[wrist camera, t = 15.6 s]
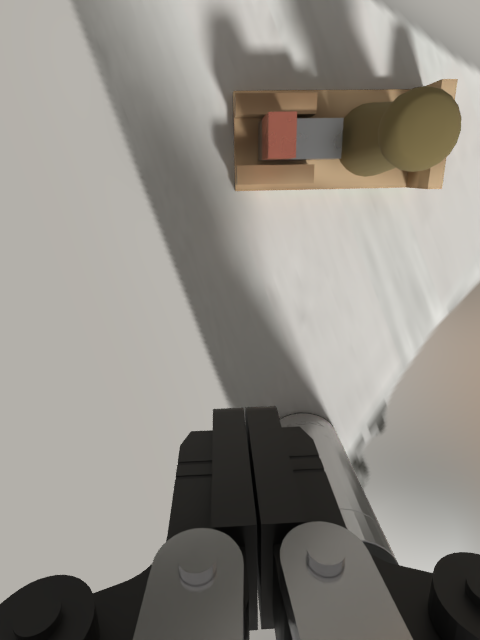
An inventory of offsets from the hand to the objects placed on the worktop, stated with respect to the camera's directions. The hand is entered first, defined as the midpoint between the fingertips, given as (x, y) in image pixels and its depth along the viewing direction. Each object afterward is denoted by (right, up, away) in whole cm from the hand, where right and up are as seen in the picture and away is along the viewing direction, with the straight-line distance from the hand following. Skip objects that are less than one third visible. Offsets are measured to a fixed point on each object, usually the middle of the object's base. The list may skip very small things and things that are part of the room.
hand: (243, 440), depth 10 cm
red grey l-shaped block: (+5, +18, +26) cm, 32 cm away
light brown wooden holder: (+8, +19, +27) cm, 34 cm away
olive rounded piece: (+11, +19, +26) cm, 34 cm away
